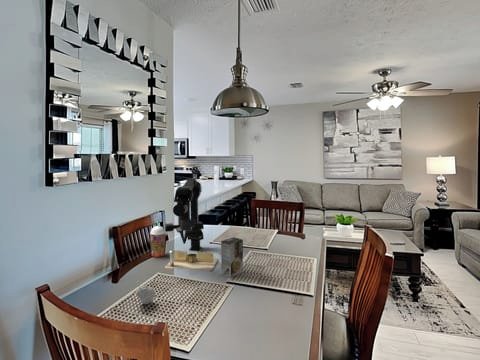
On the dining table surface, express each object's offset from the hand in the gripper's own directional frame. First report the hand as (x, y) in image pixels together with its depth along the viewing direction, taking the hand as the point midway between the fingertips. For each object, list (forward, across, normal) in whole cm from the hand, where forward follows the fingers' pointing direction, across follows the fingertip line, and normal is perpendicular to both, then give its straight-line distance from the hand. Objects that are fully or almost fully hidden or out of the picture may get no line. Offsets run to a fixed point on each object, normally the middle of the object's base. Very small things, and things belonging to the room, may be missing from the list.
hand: (184, 243), depth 144 cm
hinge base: (+11, +1, +7) cm, 14 cm away
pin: (+11, -6, +2) cm, 13 cm away
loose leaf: (+11, +11, +3) cm, 16 cm away
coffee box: (+12, +20, -15) cm, 28 cm away
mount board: (+12, +4, +2) cm, 13 cm away
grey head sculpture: (+12, -19, -33) cm, 40 cm away
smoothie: (+12, -12, +20) cm, 26 cm away
